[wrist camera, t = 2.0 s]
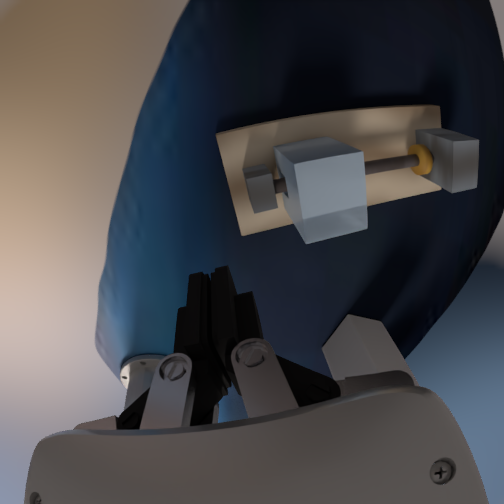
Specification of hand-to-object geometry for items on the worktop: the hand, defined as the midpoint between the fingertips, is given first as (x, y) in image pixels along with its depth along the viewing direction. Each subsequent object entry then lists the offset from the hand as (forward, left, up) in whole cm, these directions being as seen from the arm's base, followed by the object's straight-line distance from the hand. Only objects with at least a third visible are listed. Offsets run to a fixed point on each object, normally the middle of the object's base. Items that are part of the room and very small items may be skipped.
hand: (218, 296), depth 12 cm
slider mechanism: (0, -13, -17) cm, 21 cm away
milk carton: (-26, -13, -17) cm, 34 cm away
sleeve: (0, -8, -15) cm, 17 cm away
